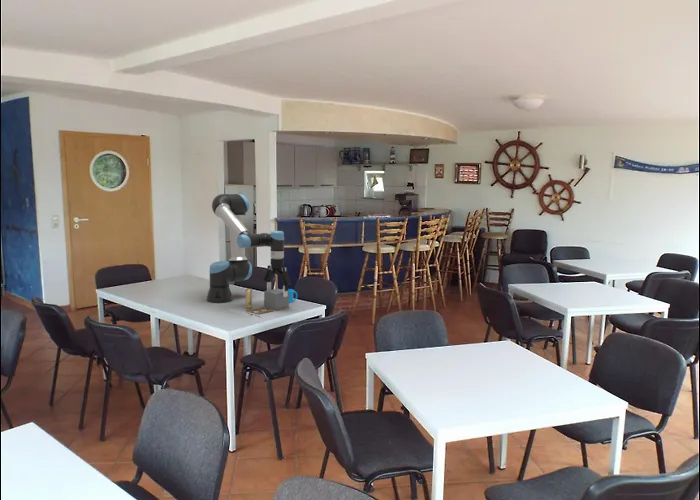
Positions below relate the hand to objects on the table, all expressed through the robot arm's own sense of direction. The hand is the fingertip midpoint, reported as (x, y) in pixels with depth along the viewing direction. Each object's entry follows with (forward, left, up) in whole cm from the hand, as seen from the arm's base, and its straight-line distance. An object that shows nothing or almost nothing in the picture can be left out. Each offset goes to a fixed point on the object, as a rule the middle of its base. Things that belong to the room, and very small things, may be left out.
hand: (277, 294), depth 300 cm
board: (0, 0, -9) cm, 9 cm away
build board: (0, -12, -9) cm, 15 cm away
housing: (0, 0, -8) cm, 8 cm away
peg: (-9, -13, -9) cm, 18 cm away
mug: (-7, +17, -9) cm, 21 cm away
